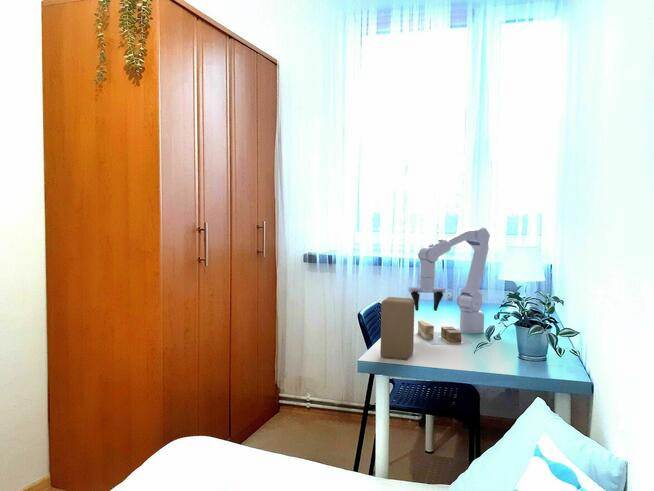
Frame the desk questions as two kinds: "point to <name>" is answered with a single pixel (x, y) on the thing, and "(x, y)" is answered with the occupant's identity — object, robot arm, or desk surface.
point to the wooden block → (397, 328)
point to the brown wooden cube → (443, 331)
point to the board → (440, 340)
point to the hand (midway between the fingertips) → (426, 310)
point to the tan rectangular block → (425, 329)
